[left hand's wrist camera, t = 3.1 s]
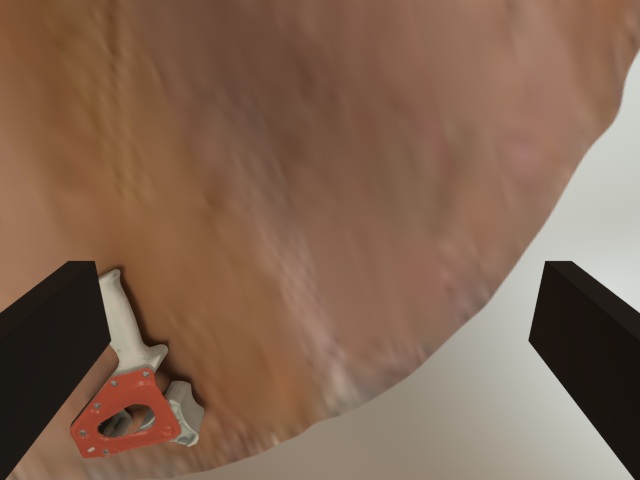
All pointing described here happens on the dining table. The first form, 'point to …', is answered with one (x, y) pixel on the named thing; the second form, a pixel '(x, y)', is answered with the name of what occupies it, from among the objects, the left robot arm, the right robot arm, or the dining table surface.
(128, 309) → the tape dispenser
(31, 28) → the dining table surface
